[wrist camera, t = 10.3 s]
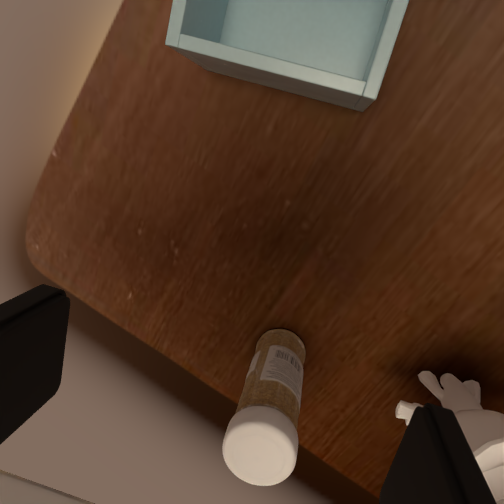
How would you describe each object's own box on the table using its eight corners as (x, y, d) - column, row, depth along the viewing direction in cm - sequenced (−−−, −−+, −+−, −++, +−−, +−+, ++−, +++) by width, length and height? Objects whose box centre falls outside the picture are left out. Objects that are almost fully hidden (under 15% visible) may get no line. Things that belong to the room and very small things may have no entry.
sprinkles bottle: (246, 343, 38) (205, 445, 25) (286, 317, 36) (264, 411, 24) (277, 381, 38) (251, 501, 25) (317, 357, 37) (312, 470, 24)
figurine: (374, 401, 37) (416, 623, 20) (394, 324, 35) (458, 497, 18) (497, 428, 36) (656, 692, 18) (525, 349, 34) (733, 563, 16)
